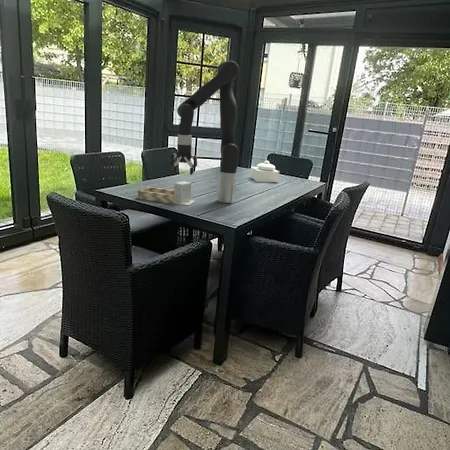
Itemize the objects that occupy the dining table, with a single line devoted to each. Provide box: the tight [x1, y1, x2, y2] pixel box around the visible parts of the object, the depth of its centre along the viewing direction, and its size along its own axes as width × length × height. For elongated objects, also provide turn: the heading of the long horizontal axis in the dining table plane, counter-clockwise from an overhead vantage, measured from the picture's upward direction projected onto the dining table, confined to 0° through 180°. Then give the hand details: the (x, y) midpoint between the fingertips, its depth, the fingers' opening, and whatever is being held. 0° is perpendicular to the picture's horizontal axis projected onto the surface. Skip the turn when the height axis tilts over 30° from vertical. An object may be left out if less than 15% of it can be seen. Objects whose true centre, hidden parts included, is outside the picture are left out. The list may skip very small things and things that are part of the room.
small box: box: [173, 180, 192, 203], centre depth 202 cm, size 8×6×10 cm
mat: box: [173, 199, 196, 207], centre depth 203 cm, size 9×11×1 cm
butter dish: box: [250, 160, 280, 183], centre depth 289 cm, size 18×18×16 cm
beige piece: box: [137, 186, 175, 204], centre depth 206 cm, size 20×13×4 cm, turn 75°
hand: (183, 173), depth 199 cm, fingers open, 8 cm apart
